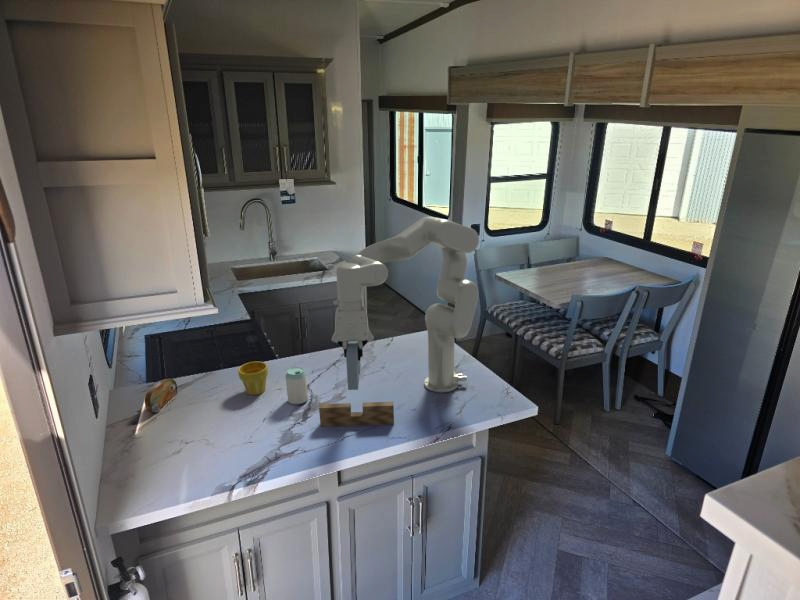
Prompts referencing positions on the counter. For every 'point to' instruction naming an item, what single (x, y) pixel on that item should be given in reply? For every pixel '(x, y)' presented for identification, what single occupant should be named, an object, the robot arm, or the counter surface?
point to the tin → (160, 395)
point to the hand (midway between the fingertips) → (353, 358)
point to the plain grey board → (353, 365)
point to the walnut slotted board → (356, 414)
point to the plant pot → (253, 377)
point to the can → (296, 385)
